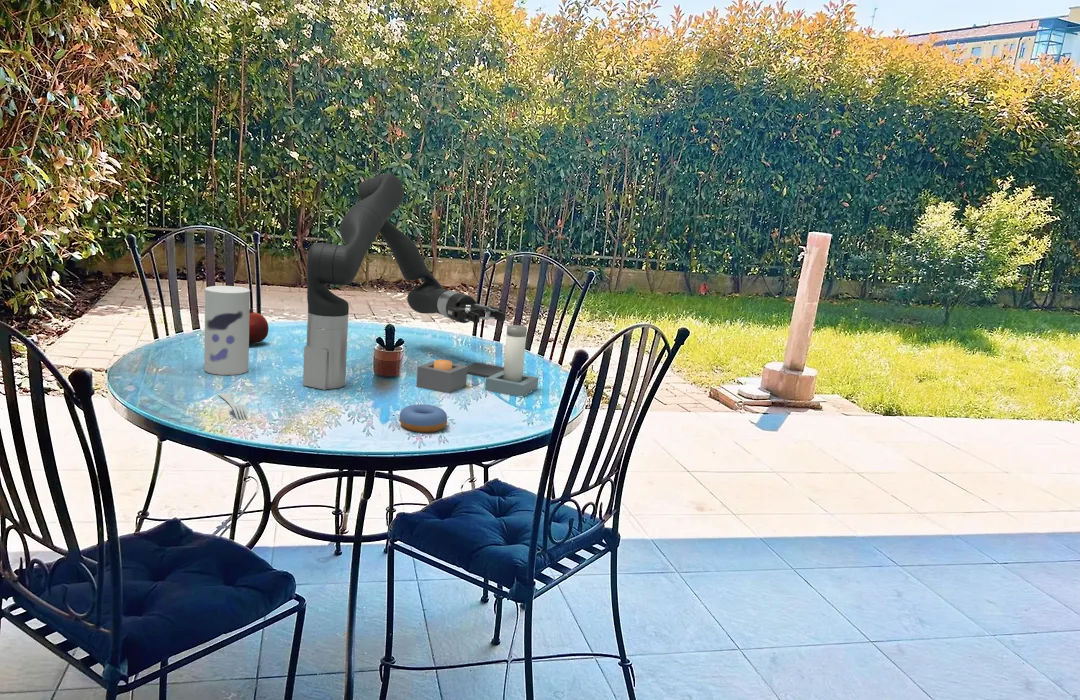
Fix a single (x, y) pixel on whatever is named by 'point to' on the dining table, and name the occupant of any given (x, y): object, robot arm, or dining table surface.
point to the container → (226, 330)
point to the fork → (229, 399)
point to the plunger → (443, 364)
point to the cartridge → (514, 353)
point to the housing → (511, 385)
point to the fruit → (257, 327)
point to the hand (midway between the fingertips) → (491, 318)
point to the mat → (483, 369)
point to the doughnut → (423, 418)
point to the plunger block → (441, 377)
